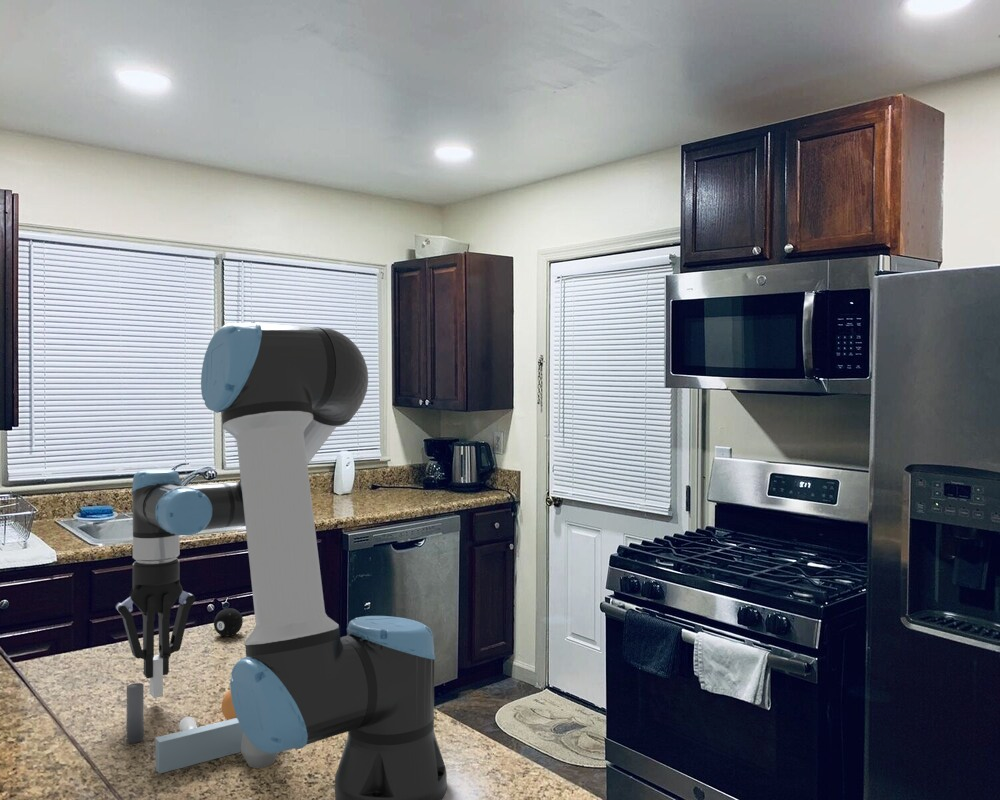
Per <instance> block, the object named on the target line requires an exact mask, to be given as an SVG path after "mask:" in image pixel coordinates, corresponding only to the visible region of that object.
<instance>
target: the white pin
mask: <svg viewBox="0 0 1000 800" xmlns="http://www.w3.org/2000/svg"><path fill="white" fill-rule="evenodd" d="M197 727H198V726H197V723H196V719H195V718H194V717H192V716H184V717H183V718H181V720H180V722H179V729H180V732H181V731H185V730H189V729H193V728H197Z"/></svg>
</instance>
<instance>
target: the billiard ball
mask: <svg viewBox="0 0 1000 800" xmlns="http://www.w3.org/2000/svg"><path fill="white" fill-rule="evenodd" d="M243 619H244V618H243V615H242V614H241V612H240V611H239V610H237V609H236V608H232V607H231V608H229V607H228V608H224V609H222V610H220V611H218V613H217V614H216V616H215V617H214V619H213V620H214V621H213V626H214V627H213V628H214V630H215V632H216V633H217V634H218V635H220V636H223V637H231V636H234V635H236V634H237V633H240V630H241V628H242V627H243V623H244V622H243V621H244V620H243Z"/></svg>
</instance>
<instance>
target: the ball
mask: <svg viewBox="0 0 1000 800" xmlns="http://www.w3.org/2000/svg"><path fill="white" fill-rule="evenodd" d="M221 713H222V715H223V717H224V718H225V719H226V720H230V719H234V718H237V716H236V713H235V710H234V707H233V702H232V697H231V689H228V691H227V692H226V693H225V695H224V696H223V699H222V700H221Z"/></svg>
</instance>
